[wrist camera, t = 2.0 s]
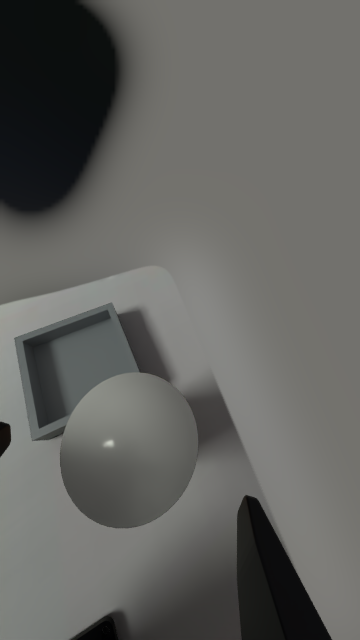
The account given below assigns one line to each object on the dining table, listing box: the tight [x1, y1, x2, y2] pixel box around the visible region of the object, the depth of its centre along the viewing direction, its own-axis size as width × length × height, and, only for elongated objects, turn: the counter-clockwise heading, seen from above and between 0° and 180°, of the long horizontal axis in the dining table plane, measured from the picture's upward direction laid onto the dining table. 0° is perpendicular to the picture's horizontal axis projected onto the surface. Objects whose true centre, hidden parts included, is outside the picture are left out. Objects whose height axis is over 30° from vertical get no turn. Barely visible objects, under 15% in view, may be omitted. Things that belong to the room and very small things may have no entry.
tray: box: [14, 303, 140, 441], centre depth 21 cm, size 9×9×2 cm
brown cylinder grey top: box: [60, 372, 198, 528], centre depth 14 cm, size 5×5×12 cm
